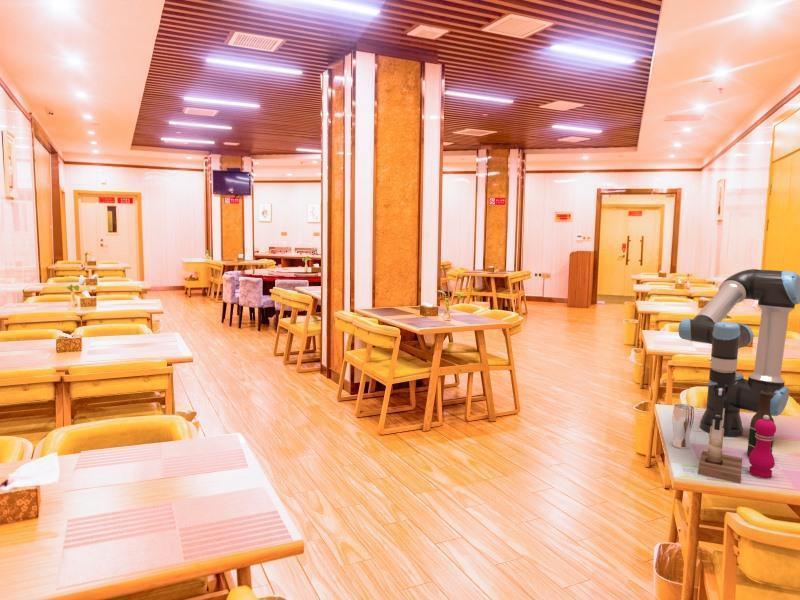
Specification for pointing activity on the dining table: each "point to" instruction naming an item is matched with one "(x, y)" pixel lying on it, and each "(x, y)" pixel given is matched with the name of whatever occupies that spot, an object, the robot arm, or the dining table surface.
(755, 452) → the pepper mill
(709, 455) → the peg
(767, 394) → the beer bottle
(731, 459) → the board
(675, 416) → the beer glass
